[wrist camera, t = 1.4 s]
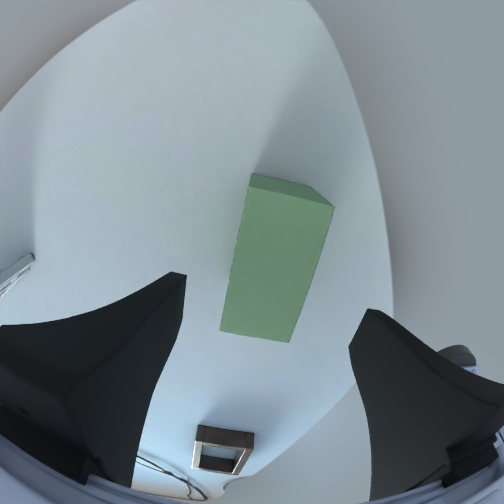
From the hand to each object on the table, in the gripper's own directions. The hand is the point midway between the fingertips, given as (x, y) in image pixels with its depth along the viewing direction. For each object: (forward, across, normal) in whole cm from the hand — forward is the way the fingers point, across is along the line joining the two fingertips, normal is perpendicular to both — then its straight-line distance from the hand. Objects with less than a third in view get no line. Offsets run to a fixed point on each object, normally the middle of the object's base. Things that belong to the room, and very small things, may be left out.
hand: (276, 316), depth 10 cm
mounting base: (+9, -1, +30) cm, 32 cm away
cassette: (+10, +26, +10) cm, 29 cm away
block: (+9, 0, 0) cm, 9 cm away
